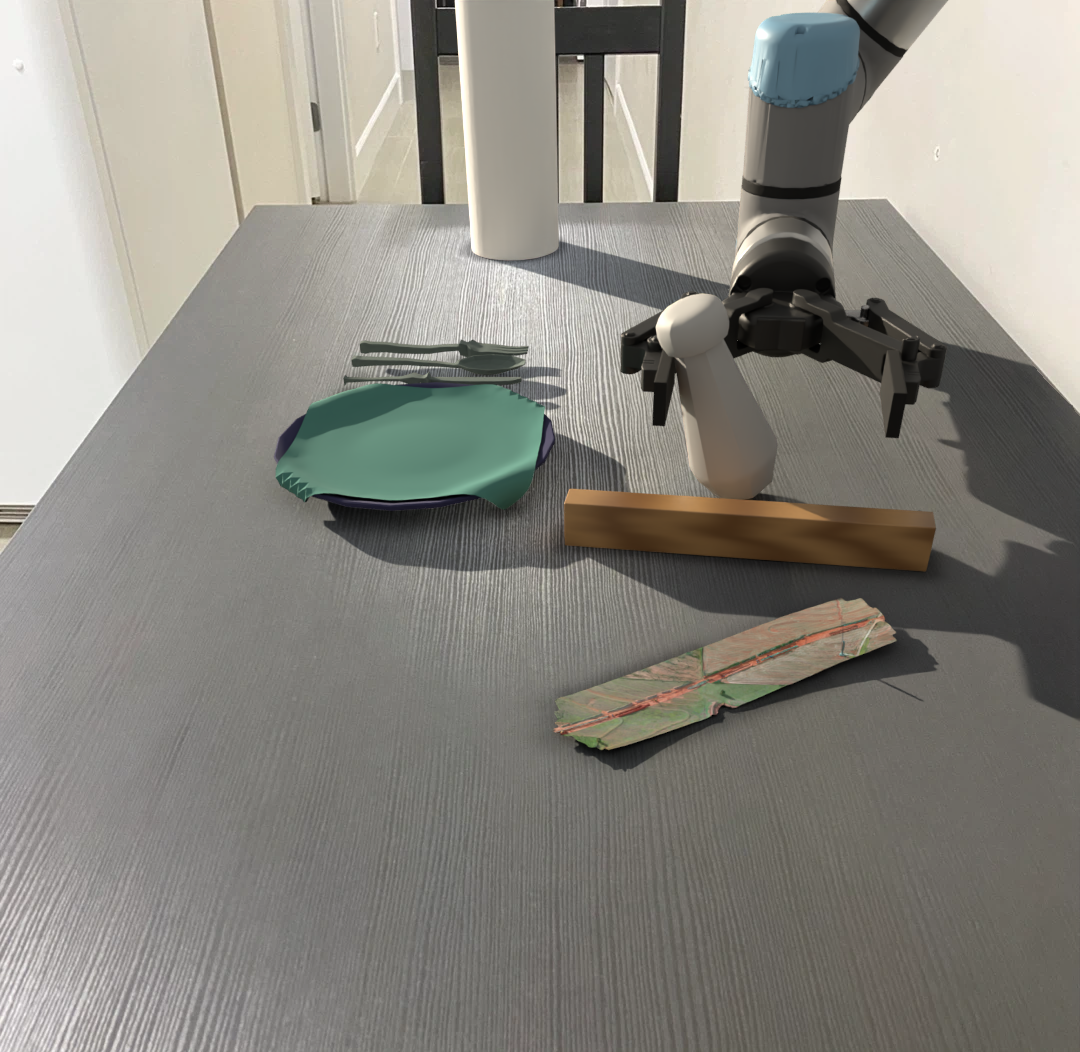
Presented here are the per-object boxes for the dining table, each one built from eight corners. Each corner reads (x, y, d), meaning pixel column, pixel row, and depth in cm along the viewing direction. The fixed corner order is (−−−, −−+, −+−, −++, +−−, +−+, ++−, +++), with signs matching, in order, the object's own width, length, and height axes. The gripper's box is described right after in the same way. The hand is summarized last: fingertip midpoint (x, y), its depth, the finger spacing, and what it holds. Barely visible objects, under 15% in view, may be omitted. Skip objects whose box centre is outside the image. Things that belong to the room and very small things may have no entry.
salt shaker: (690, 481, 76) (629, 310, 67) (767, 446, 75) (715, 269, 67) (716, 522, 71) (654, 344, 63) (798, 484, 70) (746, 299, 62)
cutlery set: (244, 530, 71) (236, 499, 70) (342, 356, 94) (338, 329, 93) (546, 534, 70) (545, 502, 68) (571, 356, 93) (570, 329, 91)
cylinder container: (481, 264, 113) (458, -97, 94) (464, 238, 120) (440, -101, 101) (568, 254, 115) (563, -102, 95) (547, 230, 122) (538, -107, 102)
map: (533, 717, 56) (532, 703, 56) (848, 592, 63) (850, 578, 62) (581, 775, 53) (580, 760, 52) (909, 636, 59) (912, 622, 59)
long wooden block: (923, 554, 67) (933, 511, 65) (926, 572, 65) (936, 528, 63) (569, 530, 70) (569, 488, 68) (564, 545, 69) (563, 503, 67)
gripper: (948, 346, 80) (984, 481, 64) (611, 334, 84) (566, 457, 68) (971, 239, 75) (1016, 355, 59) (613, 231, 79) (564, 338, 63)
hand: (775, 410), depth 64 cm, fingers open, 13 cm apart
